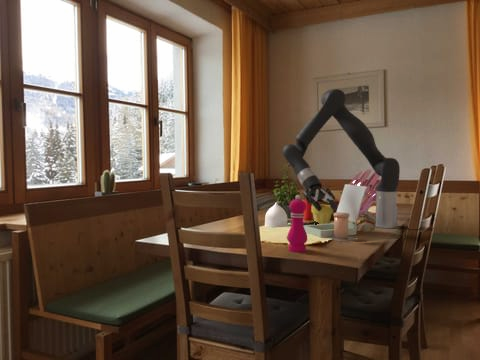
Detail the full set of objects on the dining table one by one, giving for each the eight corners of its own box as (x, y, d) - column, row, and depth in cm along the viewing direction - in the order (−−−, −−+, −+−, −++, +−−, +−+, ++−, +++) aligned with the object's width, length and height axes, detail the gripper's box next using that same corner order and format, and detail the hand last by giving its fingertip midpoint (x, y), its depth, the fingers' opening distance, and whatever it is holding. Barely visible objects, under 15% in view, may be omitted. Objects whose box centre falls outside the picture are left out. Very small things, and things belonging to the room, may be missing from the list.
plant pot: (332, 227, 200) (333, 207, 200) (310, 227, 202) (311, 206, 202) (332, 224, 211) (332, 204, 210) (311, 223, 213) (311, 204, 212)
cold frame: (345, 229, 195) (346, 184, 194) (365, 235, 182) (366, 186, 181) (302, 233, 186) (302, 185, 184) (320, 239, 173) (321, 187, 172)
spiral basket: (409, 181, 242) (368, 154, 247) (406, 197, 218) (361, 167, 222) (379, 217, 255) (341, 190, 260) (374, 235, 230) (332, 206, 235)
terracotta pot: (342, 236, 175) (343, 212, 175) (352, 238, 170) (352, 213, 169) (330, 237, 173) (330, 212, 172) (339, 239, 167) (339, 214, 166)
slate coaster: (344, 237, 177) (344, 235, 177) (358, 241, 169) (358, 239, 169) (326, 239, 173) (326, 236, 173) (339, 243, 165) (339, 240, 165)
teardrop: (292, 226, 204) (292, 201, 203) (274, 228, 198) (274, 203, 197) (277, 223, 213) (277, 199, 212) (260, 225, 207) (260, 200, 206)
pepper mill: (285, 247, 157) (286, 194, 155) (304, 247, 157) (305, 194, 156) (289, 252, 149) (290, 196, 148) (309, 252, 150) (310, 196, 149)
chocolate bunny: (376, 233, 187) (377, 211, 186) (358, 232, 188) (358, 210, 187) (375, 231, 192) (376, 209, 191) (357, 230, 193) (358, 209, 193)
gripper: (301, 175, 180) (320, 204, 171) (325, 174, 188) (344, 202, 179) (292, 186, 185) (310, 216, 176) (316, 185, 192) (335, 213, 184)
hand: (327, 209), depth 177 cm, fingers open, 8 cm apart
